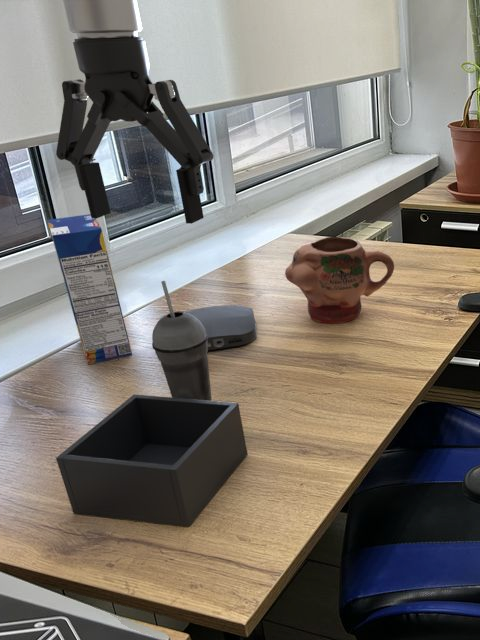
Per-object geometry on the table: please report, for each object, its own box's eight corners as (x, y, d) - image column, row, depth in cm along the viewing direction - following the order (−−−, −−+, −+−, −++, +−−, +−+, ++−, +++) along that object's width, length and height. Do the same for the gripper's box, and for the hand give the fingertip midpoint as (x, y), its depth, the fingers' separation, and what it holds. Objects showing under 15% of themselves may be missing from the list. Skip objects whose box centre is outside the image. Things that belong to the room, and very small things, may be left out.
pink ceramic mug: (391, 297, 142) (387, 229, 136) (400, 320, 132) (396, 248, 126) (290, 306, 138) (281, 238, 132) (291, 331, 128) (281, 257, 122)
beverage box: (88, 365, 117) (52, 235, 107) (80, 341, 125) (47, 219, 115) (132, 355, 120) (101, 228, 110) (122, 332, 128) (93, 213, 119)
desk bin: (73, 514, 82) (55, 457, 78) (146, 444, 95) (133, 394, 91) (189, 527, 79) (175, 470, 76) (247, 454, 92) (238, 402, 89)
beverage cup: (187, 432, 97) (158, 297, 89) (158, 416, 101) (127, 285, 93) (232, 410, 103) (208, 280, 94) (202, 395, 107) (177, 270, 98)
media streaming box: (253, 314, 135) (251, 299, 134) (258, 345, 123) (256, 329, 121) (172, 325, 131) (169, 310, 130) (169, 358, 119) (165, 341, 117)
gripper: (223, 33, 81) (251, 214, 90) (40, 35, 87) (84, 206, 96) (186, 35, 75) (219, 231, 84) (-10, 37, 80) (42, 221, 89)
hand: (147, 218), depth 90 cm, fingers open, 13 cm apart
